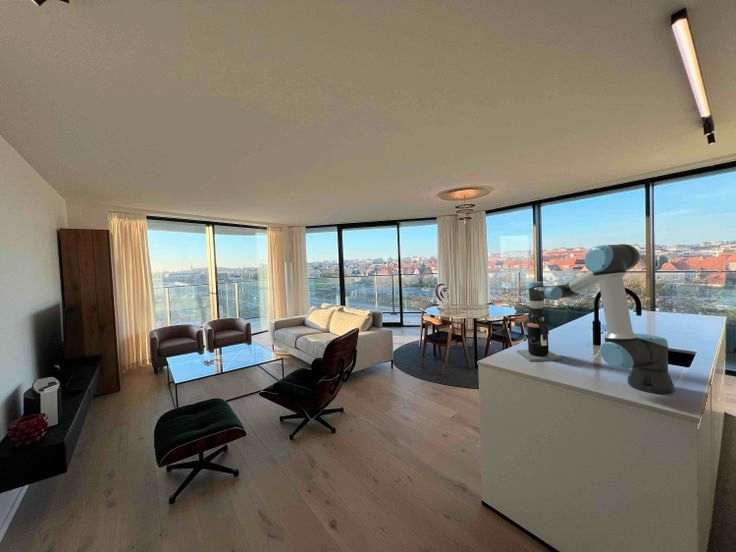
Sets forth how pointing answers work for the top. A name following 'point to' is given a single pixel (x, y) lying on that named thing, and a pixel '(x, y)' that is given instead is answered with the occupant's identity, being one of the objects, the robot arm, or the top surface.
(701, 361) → the top surface
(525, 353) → the plate
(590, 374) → the top surface
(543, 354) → the coffee jar
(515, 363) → the top surface
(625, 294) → the robot arm
